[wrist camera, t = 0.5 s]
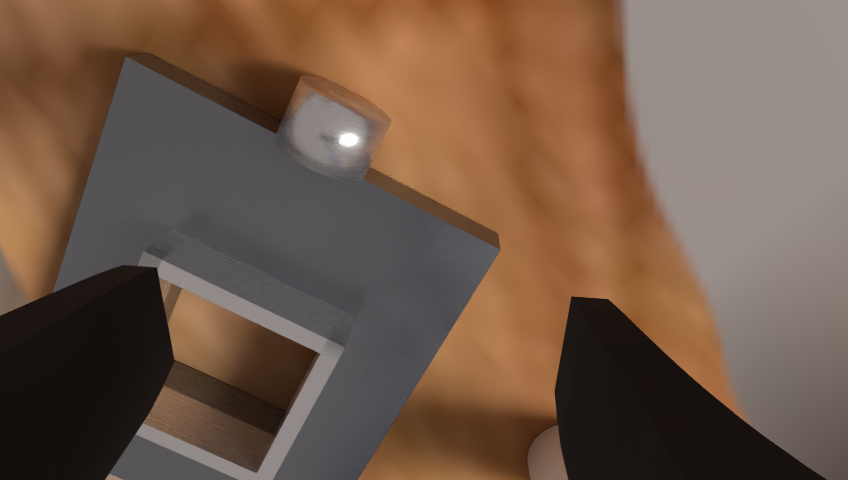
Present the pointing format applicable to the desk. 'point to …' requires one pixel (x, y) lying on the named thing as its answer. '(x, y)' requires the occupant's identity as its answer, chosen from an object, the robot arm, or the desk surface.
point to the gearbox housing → (273, 267)
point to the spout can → (546, 457)
